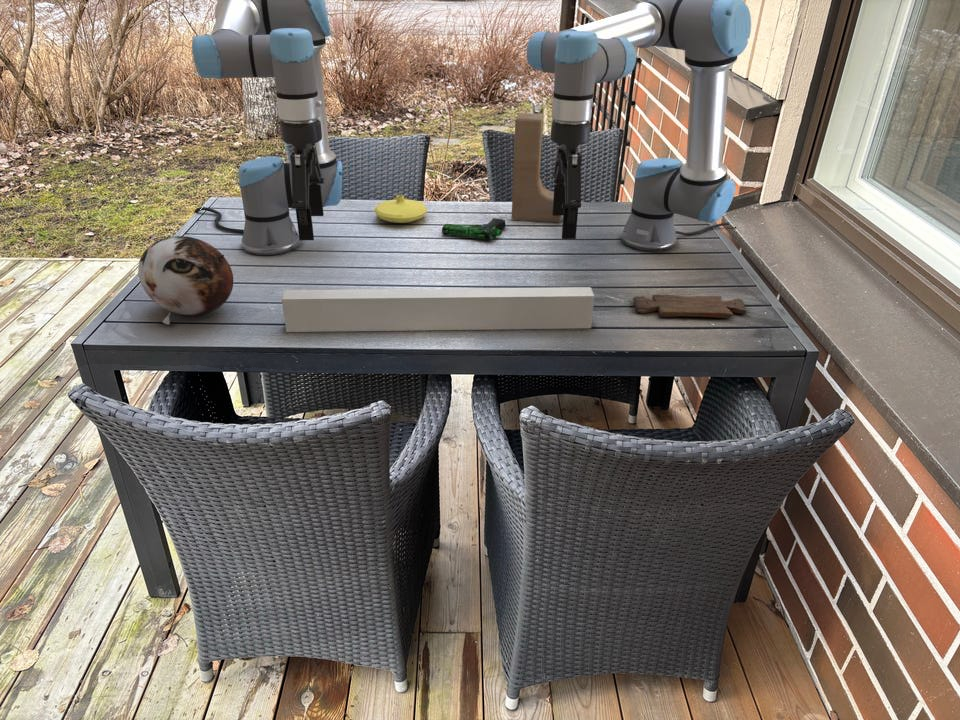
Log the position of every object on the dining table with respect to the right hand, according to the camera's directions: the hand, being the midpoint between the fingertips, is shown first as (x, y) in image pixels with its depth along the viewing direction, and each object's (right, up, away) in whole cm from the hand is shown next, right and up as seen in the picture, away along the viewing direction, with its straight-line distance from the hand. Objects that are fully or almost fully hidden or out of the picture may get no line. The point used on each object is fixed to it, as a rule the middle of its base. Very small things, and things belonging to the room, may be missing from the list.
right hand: (563, 226), depth 148 cm
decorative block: (0, +16, +71) cm, 73 cm away
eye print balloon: (-82, -17, +15) cm, 85 cm away
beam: (-26, -20, +10) cm, 34 cm away
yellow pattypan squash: (-41, +15, +69) cm, 82 cm away
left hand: (-51, -1, -3) cm, 52 cm away
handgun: (-18, +10, +60) cm, 64 cm away
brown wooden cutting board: (+32, -16, +19) cm, 40 cm away
